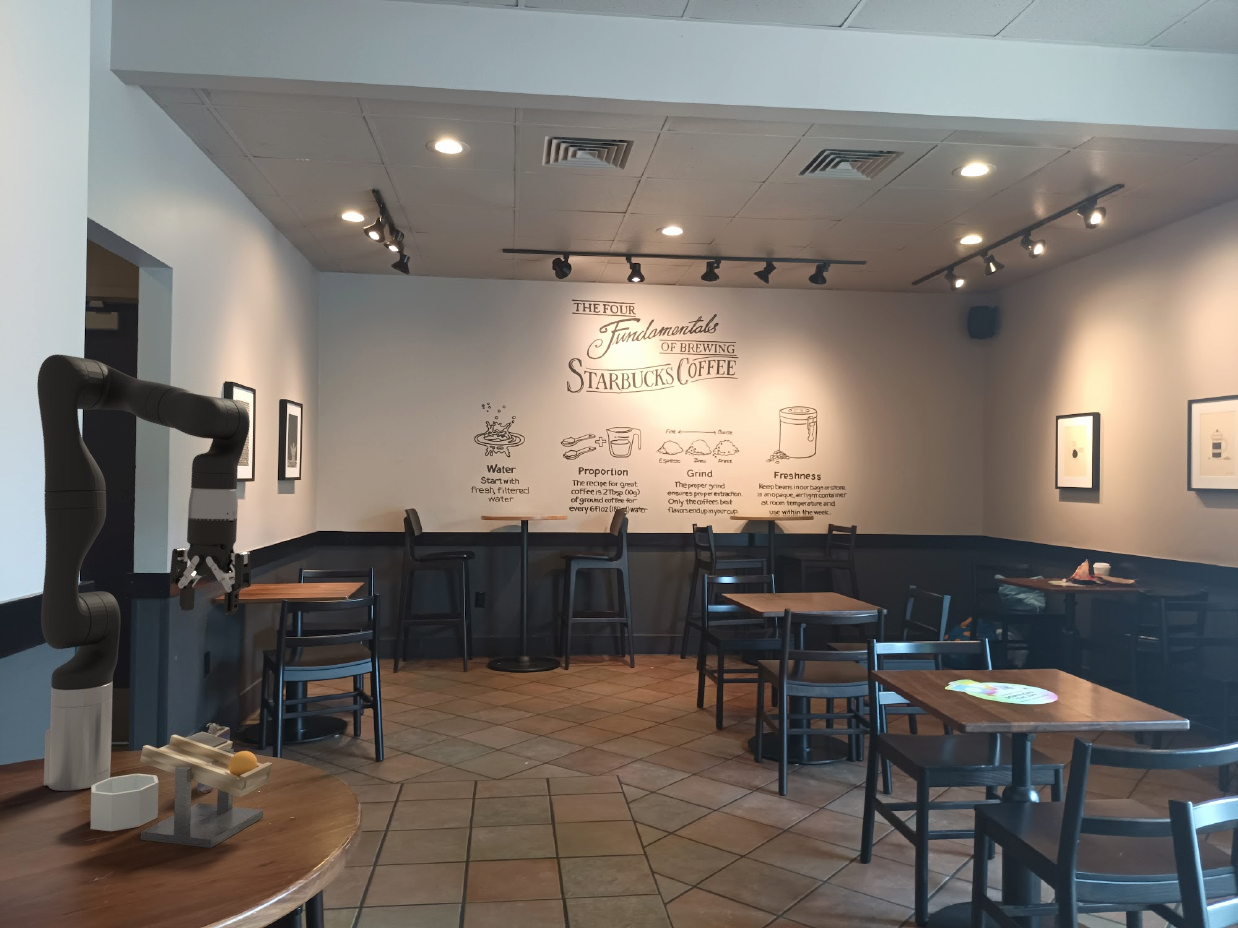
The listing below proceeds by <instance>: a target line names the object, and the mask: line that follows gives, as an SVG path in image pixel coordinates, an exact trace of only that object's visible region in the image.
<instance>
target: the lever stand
mask: <svg viewBox="0 0 1238 928" xmlns="http://www.w3.org/2000/svg"><path fill="white" fill-rule="evenodd" d="M220 750H222V751H225V752H228V753H231V754H234V753H235V752H234V748H230V749H227V748H222V749H220ZM234 755H235V754H234ZM174 776H175V777H174V807H173V808H174V809H173V815H171V816H169V817H168V818H165V819H163V820H161V821H158V823H156V824H153V825H151V826H149V827H147V828H146V829H143V830H142V831H140V840H141V841H150V842H159V843H165V844H172V845H173V844H175V845H182V846H191V847H199V848H206V849H212V848H214V847H215V846H217V845H219V844H220V843H222V842H224V841H225V840H227V839H229V838H230V837H233V836H234V835H236V834H237V833H240V832H241V831H243V830H244V829H246V828H247V827H250V826H252V824H255V823H257V822H258V821H260V820H261V819H263V818H264V809H258V808H251V807H248V808H247V807H241V806H240V807H238V806H233V801H234V800H233V798H234V797H233V796H234V795H233V794H230V793H227V792H225V791H222V790H219V789H217V796H216V797H217V800H216V802H217V803H216V804H210V803H201V802H197V803H195V804H193V805H192V781H193V780H192V768H191V767H181V766H180V767H178V768H175V774H174Z"/></svg>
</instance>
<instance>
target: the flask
mask: <svg viewBox="0 0 1238 928" xmlns="http://www.w3.org/2000/svg"><path fill="white" fill-rule="evenodd" d="M208 726H209V729H208V730H207V733H208V734H211V735H214V736H217V737H220V738H223V739H226V740H229V741H231V740H230V737H231V736H230V735H231V728H230V727H227V726H220V725H219V724H216V723H215V722H214V723H212V722H209V723H207V724H206V728H208ZM214 790H215V788H213V787H210V786H208V785H205V784H202V783H199V782H197V787H196V792H197V794H200V795H202V794H208V793H209V792H213V791H214Z"/></svg>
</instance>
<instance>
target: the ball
mask: <svg viewBox="0 0 1238 928" xmlns="http://www.w3.org/2000/svg"><path fill="white" fill-rule="evenodd" d="M257 763H258V759H257V756H255V754H254V753H252V752H251V751H248V750H242V751H238V752H236V753H235V754H234V756H233V757H232V758H231V760H230V762H229V772H230V773H231V774H233V775H236V776H239V777H240V775H242V774H244V773H246V772H249V771H251V770H253V769H255V768H257Z"/></svg>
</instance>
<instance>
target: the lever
mask: <svg viewBox="0 0 1238 928" xmlns="http://www.w3.org/2000/svg"><path fill="white" fill-rule="evenodd" d="M232 747H233V741H231V740H226V739H223V738H220V737H217V736H214V735H211V734H208V732H205V731H201V732H197V733H195V734H192V735H190V736H187V737H184V736H180V735H178V734H172V735H171V736H170V740H169V744H166V745H164V746H162V747H159V748H158V747H154V746H152V745H148V744H146V745H143V746H142V750H141V755H140V759H139V760H140V761H139V762H140V763H143V764H145V765H148V766H151V767H153V768H157V769H160V770H162V771H165V772H169V773H171V774H174V775H175V768H178V767H180V766H181V767H191V768H192V780H191V781H194V782H196V783H198V782H199V783H202V784H205V785H208V786H210V787H213V788H214V789H216V790H218V789H219V790H222V791H225V792H227V793H230V794H233V796H236V797H239V798H242V797H243V796H245V795H247V794H248V793H251V792H253V791H254V790H256V789H258V788H260V787H262V786H264V785H266V784H267V783H269V781H270V776H271V773H272V771H271V770H272V766H273V763H272V762H265V763H261V762H257V768H255V769H253V770H251V771H249V772H246V773H244V774H242V775H240V777H239V776H236V775H233V774H231V773H230V772H229V762H230V760H231V758H232V757H233V756H234V755H235V754H231V753H228V752H225V751H222V750H220V749H222V748H227V749H233V748H232Z"/></svg>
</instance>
